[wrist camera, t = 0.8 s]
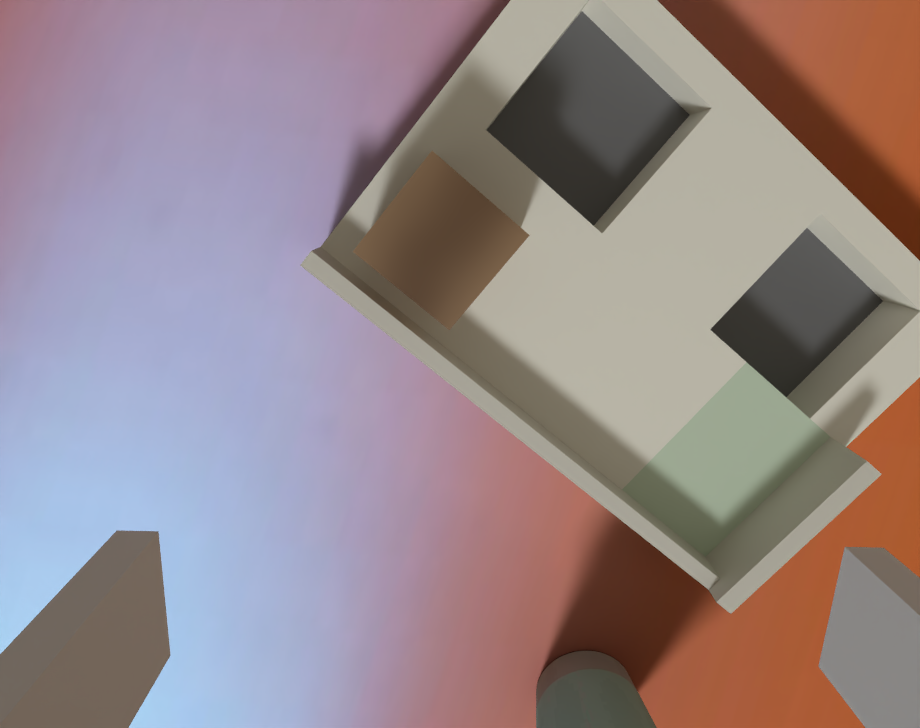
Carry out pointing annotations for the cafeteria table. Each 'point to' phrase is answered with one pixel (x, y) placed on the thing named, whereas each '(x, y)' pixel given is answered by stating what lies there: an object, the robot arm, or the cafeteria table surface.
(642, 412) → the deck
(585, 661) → the coffee cup
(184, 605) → the cafeteria table surface
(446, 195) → the block
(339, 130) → the cafeteria table surface
